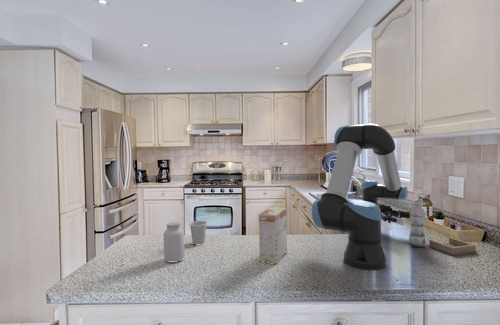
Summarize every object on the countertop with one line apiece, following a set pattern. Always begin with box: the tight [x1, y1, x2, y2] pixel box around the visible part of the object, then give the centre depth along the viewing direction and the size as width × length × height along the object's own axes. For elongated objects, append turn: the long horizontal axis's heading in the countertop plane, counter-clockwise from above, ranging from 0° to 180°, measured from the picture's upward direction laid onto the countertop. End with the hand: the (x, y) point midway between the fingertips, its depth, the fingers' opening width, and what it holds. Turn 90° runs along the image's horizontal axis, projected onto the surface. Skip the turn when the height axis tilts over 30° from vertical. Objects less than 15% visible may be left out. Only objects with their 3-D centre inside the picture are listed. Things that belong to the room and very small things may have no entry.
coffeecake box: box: [258, 206, 288, 265], centre depth 114 cm, size 15×7×20 cm, turn 154°
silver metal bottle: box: [408, 200, 427, 247], centre depth 124 cm, size 6×7×20 cm
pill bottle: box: [163, 221, 185, 261], centre depth 113 cm, size 8×8×15 cm
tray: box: [428, 237, 478, 257], centre depth 119 cm, size 12×12×3 cm
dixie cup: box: [189, 220, 208, 245], centre depth 134 cm, size 8×8×10 cm
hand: (415, 221), depth 126 cm, fingers open, 13 cm apart
